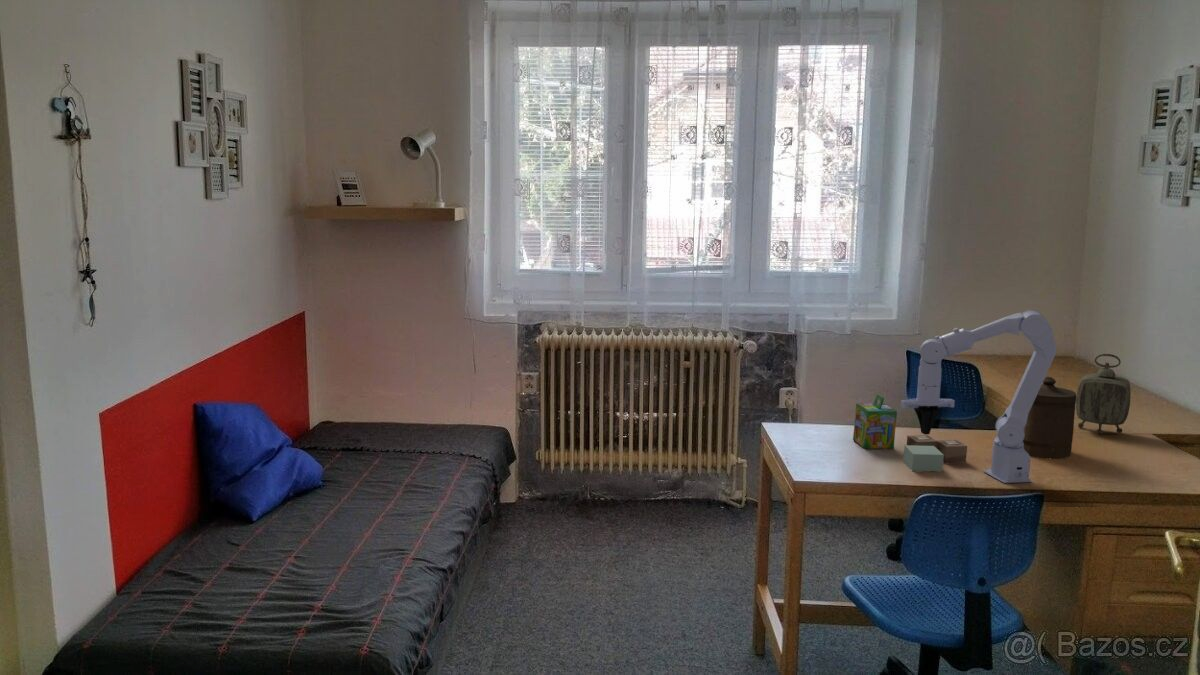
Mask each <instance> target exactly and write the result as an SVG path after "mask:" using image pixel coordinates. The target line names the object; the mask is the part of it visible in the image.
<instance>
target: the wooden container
mask: <svg viewBox="0 0 1200 675" xmlns="http://www.w3.org/2000/svg"><path fill="white" fill-rule="evenodd" d="M1056 383H1057V381H1056V379H1055V378H1053V377H1052V376H1045V379H1044V381H1043V383H1042V385H1041V387H1040V389H1039V392H1038V394H1037V396H1036V398H1035V400H1034V403H1033V405H1032V407H1031V409H1030V411H1029V413H1028V418H1027V423H1026V425H1025V428H1024V434H1025V435H1024V439H1023V443H1024V445H1023V446H1024V450H1025V451H1026V452H1027V453H1028V454H1029V456H1030V457H1033V456H1034V458H1038V457H1039V459H1046V458H1048V460H1062V459H1061V458H1063V459H1067V458H1066V457H1068V458H1070V457H1071V455H1072V450H1073V449H1072V448H1073V438H1074V428H1075V413H1076V397H1077V392H1075V391H1074V390H1071V389H1067V388H1063V387H1060V386H1059V387H1058V386H1056V385H1055V384H1056ZM1069 456H1070V457H1069ZM1049 458H1051V459H1049Z"/></svg>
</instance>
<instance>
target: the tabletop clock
mask: <svg viewBox="0 0 1200 675" xmlns="http://www.w3.org/2000/svg"><path fill="white" fill-rule="evenodd" d="M1101 357H1110V358H1113V359H1116V360H1117V361H1118V363H1117V364H1114V365H1110V363H1109V362H1106V363H1105V364H1101V363H1099V362H1098V361H1097V359H1098V358H1101ZM1094 362H1095V364H1096V366H1099V367H1100V369H1098V370H1097V372H1096V373H1087V374H1085V375H1084V374H1083V376H1082V377H1081V379H1080V381H1079V384H1078V388H1077V392H1076V403H1075V413H1076V415H1077V418H1078V419H1079V420H1081V422H1079V423H1078V424H1077V427H1078V428H1079V429H1082V428H1084V425H1085V423H1086V422H1087V423H1093V424H1098V429H1096V434H1097V433H1098V434H1097V435H1102V434H1103V430H1102V425H1106V426H1107V425H1109V426H1115V427H1116V432H1117V433H1118V434H1122V433H1123V429H1122V427H1120V426H1119V425H1124V424H1125V422H1126V420H1127V419H1128V416H1129V413H1130V412H1129V410H1130V408H1131V393H1132V392H1131V390H1132V389H1131V383H1130V381H1129V379H1127V378H1125V377H1123V376H1118V375H1116V374H1115V371H1114V370H1113V369H1112V368H1117V367H1118V366H1120V365H1121V359H1120V358H1119V357H1118V356H1117V355H1115V354H1110V353H1102V354H1098V355H1097V356H1095V357H1094ZM1101 367H1102V368H1101Z"/></svg>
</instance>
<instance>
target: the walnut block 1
mask: <svg viewBox="0 0 1200 675" xmlns="http://www.w3.org/2000/svg"><path fill="white" fill-rule="evenodd" d="M937 442H938V441H936V439H934V438H933V437H931V436H929V434H923V435H922V434H919V435H915V434H914V435H906V445H914V446H935V447H936V448H937Z"/></svg>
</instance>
